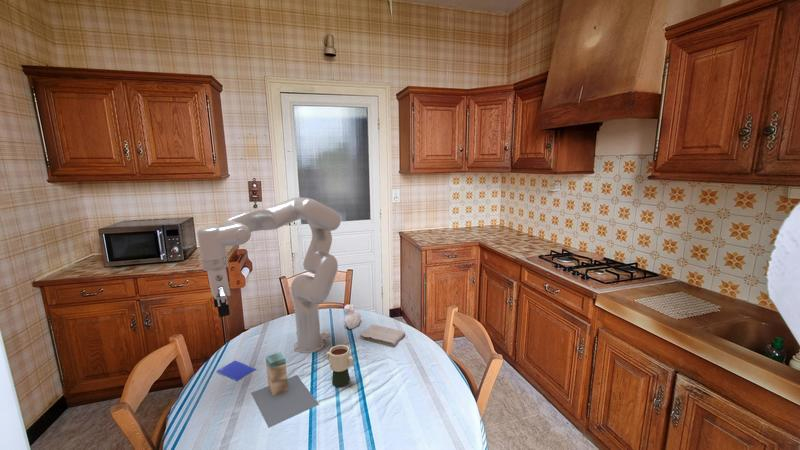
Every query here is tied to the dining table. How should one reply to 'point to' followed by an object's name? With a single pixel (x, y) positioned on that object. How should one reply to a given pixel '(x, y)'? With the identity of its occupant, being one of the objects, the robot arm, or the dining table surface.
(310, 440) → the dining table surface
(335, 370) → the character mug
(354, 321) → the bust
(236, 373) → the hard drive
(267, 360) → the maple block
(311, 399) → the rubber mat
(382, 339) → the washcloth
